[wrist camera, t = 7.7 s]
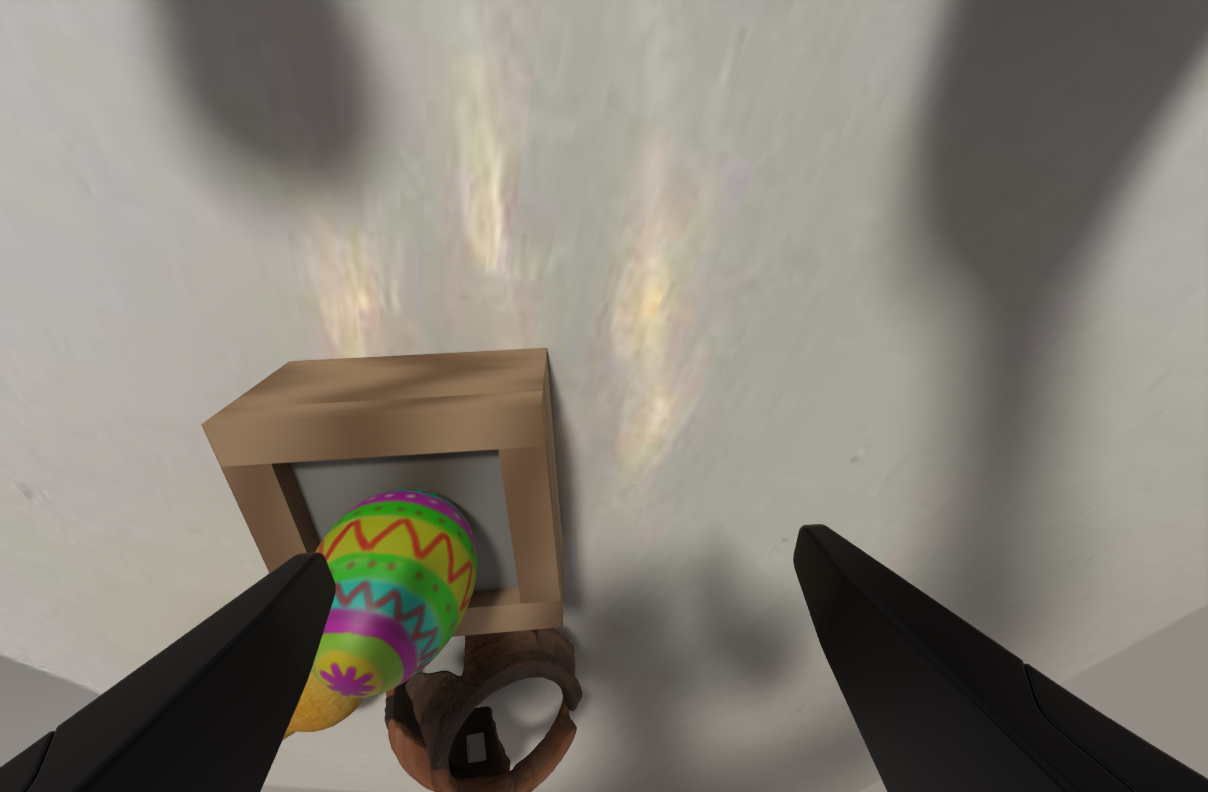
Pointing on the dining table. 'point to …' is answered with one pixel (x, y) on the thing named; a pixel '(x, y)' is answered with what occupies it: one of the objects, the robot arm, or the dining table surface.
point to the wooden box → (409, 463)
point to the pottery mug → (481, 715)
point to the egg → (393, 589)
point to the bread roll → (320, 708)
